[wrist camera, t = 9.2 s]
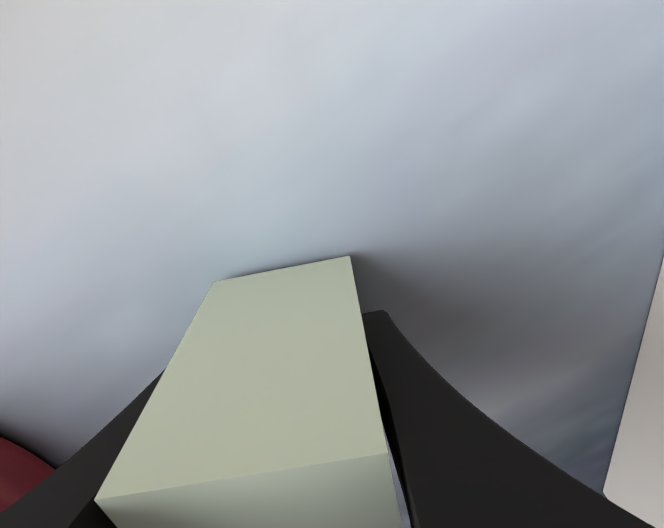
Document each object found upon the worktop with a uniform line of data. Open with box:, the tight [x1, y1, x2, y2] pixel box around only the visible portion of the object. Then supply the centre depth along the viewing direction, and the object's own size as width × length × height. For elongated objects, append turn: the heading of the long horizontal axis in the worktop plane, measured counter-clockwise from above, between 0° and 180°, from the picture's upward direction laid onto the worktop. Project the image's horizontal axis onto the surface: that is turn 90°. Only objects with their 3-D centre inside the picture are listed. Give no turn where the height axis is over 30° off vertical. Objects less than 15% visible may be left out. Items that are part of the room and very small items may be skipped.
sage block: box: [94, 256, 402, 528], centre depth 8 cm, size 4×4×6 cm
